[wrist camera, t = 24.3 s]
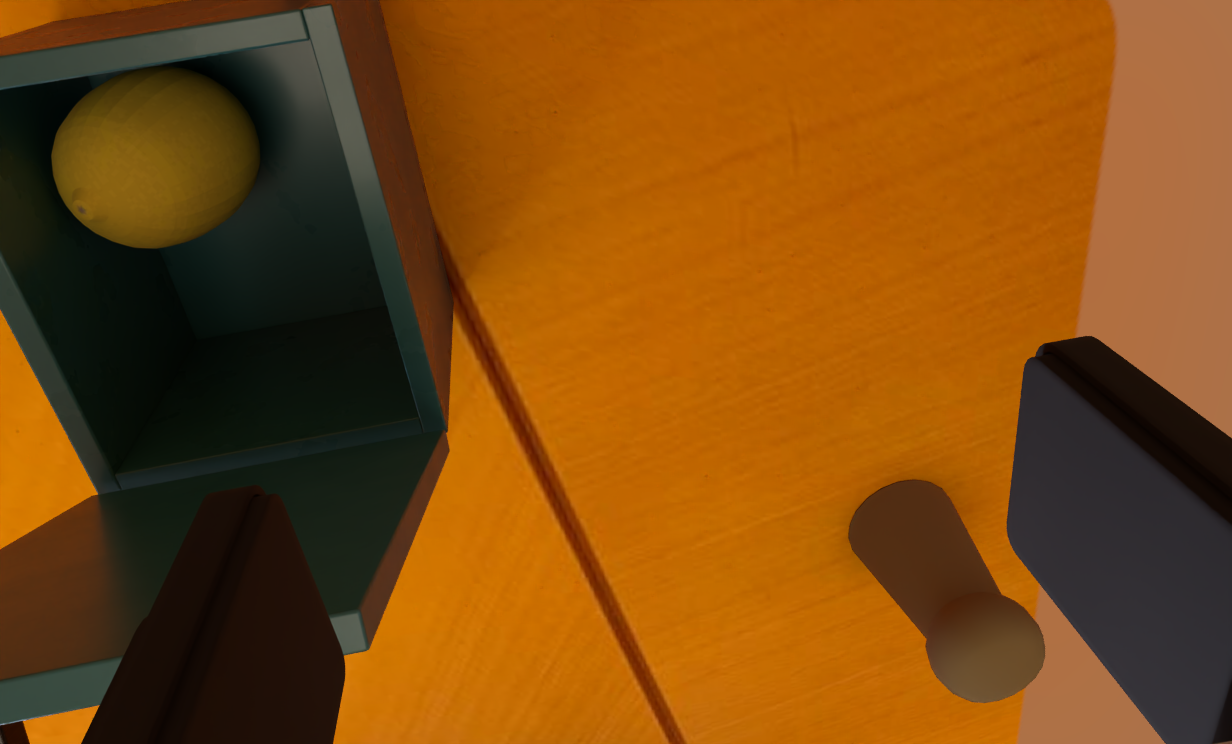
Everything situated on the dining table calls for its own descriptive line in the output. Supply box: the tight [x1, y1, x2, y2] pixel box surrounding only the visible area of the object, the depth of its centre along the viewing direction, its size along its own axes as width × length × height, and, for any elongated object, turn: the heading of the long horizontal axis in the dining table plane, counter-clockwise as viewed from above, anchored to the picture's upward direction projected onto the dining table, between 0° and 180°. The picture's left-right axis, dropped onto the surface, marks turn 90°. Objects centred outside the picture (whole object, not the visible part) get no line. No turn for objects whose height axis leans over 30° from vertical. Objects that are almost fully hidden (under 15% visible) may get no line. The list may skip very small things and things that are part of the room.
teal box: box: [0, 0, 454, 495], centre depth 31 cm, size 14×12×11 cm
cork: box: [849, 480, 1045, 703], centre depth 44 cm, size 6×6×11 cm
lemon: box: [51, 66, 260, 249], centre depth 30 cm, size 6×6×8 cm
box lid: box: [0, 430, 449, 744], centre depth 22 cm, size 14×12×5 cm
